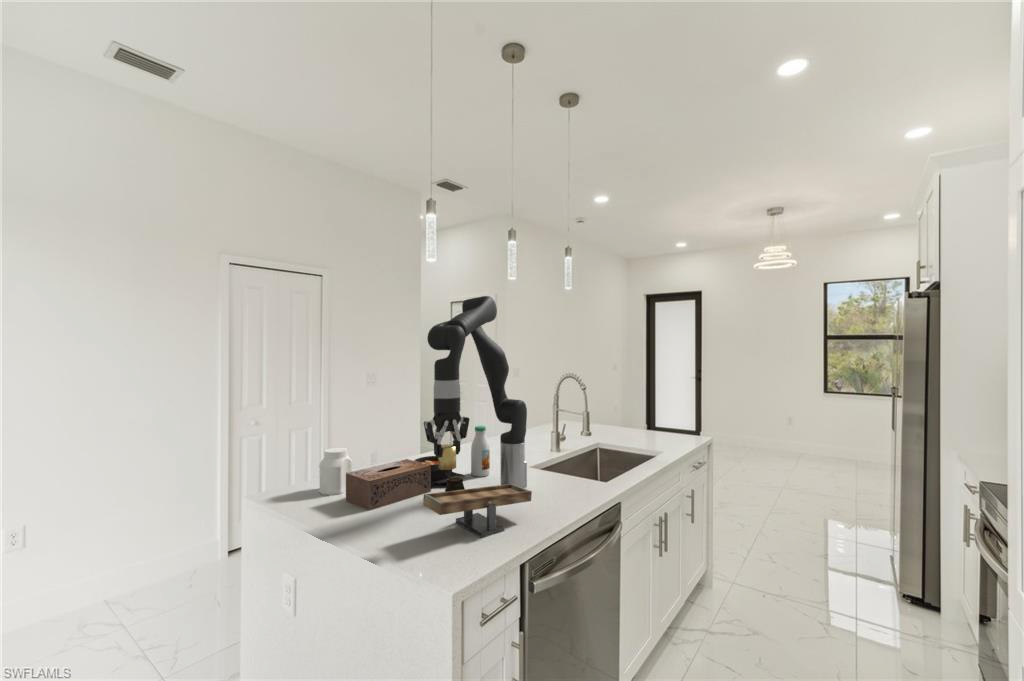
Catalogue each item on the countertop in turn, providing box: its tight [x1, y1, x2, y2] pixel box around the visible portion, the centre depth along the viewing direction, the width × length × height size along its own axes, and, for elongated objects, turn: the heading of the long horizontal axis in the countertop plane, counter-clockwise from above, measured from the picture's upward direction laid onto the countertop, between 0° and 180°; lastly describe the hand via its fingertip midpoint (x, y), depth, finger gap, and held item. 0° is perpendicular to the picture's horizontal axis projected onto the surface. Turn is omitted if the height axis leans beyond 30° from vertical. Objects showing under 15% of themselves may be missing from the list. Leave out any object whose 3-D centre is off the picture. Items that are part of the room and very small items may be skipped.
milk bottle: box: [470, 425, 491, 478], centre depth 194 cm, size 8×8×20 cm
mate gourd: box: [444, 472, 466, 492], centre depth 161 cm, size 7×8×10 cm
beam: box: [422, 484, 533, 516], centre depth 138 cm, size 32×10×3 cm, turn 128°
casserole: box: [413, 455, 465, 486], centre depth 185 cm, size 25×19×8 cm
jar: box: [318, 447, 353, 496], centre depth 173 cm, size 12×10×15 cm
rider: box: [438, 443, 457, 470], centre depth 132 cm, size 5×5×6 cm
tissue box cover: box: [345, 458, 432, 511], centre depth 166 cm, size 26×14×10 cm, turn 140°
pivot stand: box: [455, 504, 505, 538], centre depth 138 cm, size 8×14×8 cm, turn 38°
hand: (447, 455), depth 132 cm, fingers closed on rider, 5 cm apart
